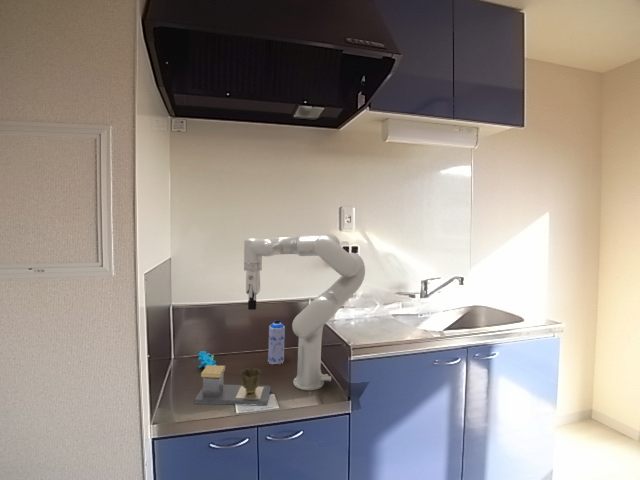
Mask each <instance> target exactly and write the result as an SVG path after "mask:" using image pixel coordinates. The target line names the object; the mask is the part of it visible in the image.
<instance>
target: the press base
mask: <svg viewBox="0 0 640 480" xmlns="http://www.w3.org/2000/svg"><path fill="white" fill-rule="evenodd" d="M224 372H225V371H224ZM224 372H223V374H222V376H221V377H220V378H208V377H202V388H201V389H200V391H199V392H198V394H197V395H196V396H195V398H194V400H193V401H194V404H200V405H204V404H205V405H232V404H260V405H259V406H267V405H268V404H267V403H268V401H267V400H269V397H270V393H271V385H259V386H258V387H257V388H256V391H255V392H254V393H252V394H249V393H247V392H246V389H245V388H244V387H243V384H224ZM261 404H262V405H261Z"/></svg>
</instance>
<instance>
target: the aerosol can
mask: <svg viewBox="0 0 640 480" xmlns="http://www.w3.org/2000/svg"><path fill="white" fill-rule="evenodd" d="M280 320H281V319H278V318H277V319H274V322H272V323H271V324H270V325H269V326H268V354H267V355H268V357H267V363H268V362H269V363H268V364H270V365H273V364H278V365H281V363H282V364H284V363H285V339H286V338H285V337H286V335H285V333H286V331H285V329H286V328H285V327H286V326H285V325H284V324H283V323H282V322H280ZM283 362H284V363H283Z"/></svg>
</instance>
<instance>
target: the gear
mask: <svg viewBox="0 0 640 480" xmlns="http://www.w3.org/2000/svg"><path fill="white" fill-rule="evenodd" d="M197 356H198V361H201V362H200V365H198V368H199V369H202V367H204V369H205V368H206V366H207V365H216V366H217V364H216V360H214V357H215V356H214V354H211V353H209V352H207V351H206V350H201V351H200V352H199V353H198V354H197Z"/></svg>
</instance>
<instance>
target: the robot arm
mask: <svg viewBox="0 0 640 480" xmlns="http://www.w3.org/2000/svg"><path fill="white" fill-rule="evenodd" d="M243 246H244V247H243V249H244V250H243V254H244V255H243V271H244V272H246V274H245V275H246V276H245V293H246V294H247V296H248V302H247V305H248V306H247V309H248V310H252V311H253V310H257V295H258V294H259V293H260V291H261V271H262V270H263V269H262V268H263V267H262V265H263V257H272V256H278V255H279V256H280V255H297V256H299V257H320V259H321V260H322V261H324V262H325V263H326V264H327V265H328V266H329V267H330V268H331V269H332V270H333V271H335V272H336V273H337V274H338V275H340V277H339V278H338V279H337V280H336V281H335V282H334V283H333V284H332V285H331V286H329V288H327V290H325V291H324V292H322V293H321V294H319V295H318V296H316V297H315V298H314V299H313V300H312V301H310V303H308V305H306V307H305V308H304V309H303V310H301V311H300V312H299V313H298V314H297V315H296V316H295V317H294V319H293V321H292V324H291V326H292V327H291V328H292V331H293V333H294V335H296V337H298V345H297V346H298V347H297V371H296V373H297V375H296V377H294V378H293V386H294V387H296V388H297V389H299V390H302V391H315V390H319V389H321V388H322V387H323V386H324V384H325V382H331V381H332V375H329V374H328V373H327V374H326V373H325V374H323V373H322V370H321V365H322V359H321V358H322V339H323V330H324V329H323V328H324V325H326V324H327V323H328V322H329V320H331V319H332V318H334V316H335V315H336V314H337V312H338V311H339V310H340V308H341V307H342V306H343V305H344V304H345V303H346V302H348V301H349V300H350V298H351V297H353V295H354V294H355V293H357V291H358V290H359V288H360V287H361V286H362V284H363V281H364V280H365V276H366V267H365V262H364V260H363V258H362V257H361V255H360V254H357V253H356V252H347V250H345V249H344V248H343V247H342V246H341V243H340V240H339V238H338V237H337V236H336V235H334V234H327V233H326V234H309V235H306V234H305V235H297V236H287V237H284V236H283V237H282V236H281V237H269V238H259V237H247V238H245V239H244V242H243Z"/></svg>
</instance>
